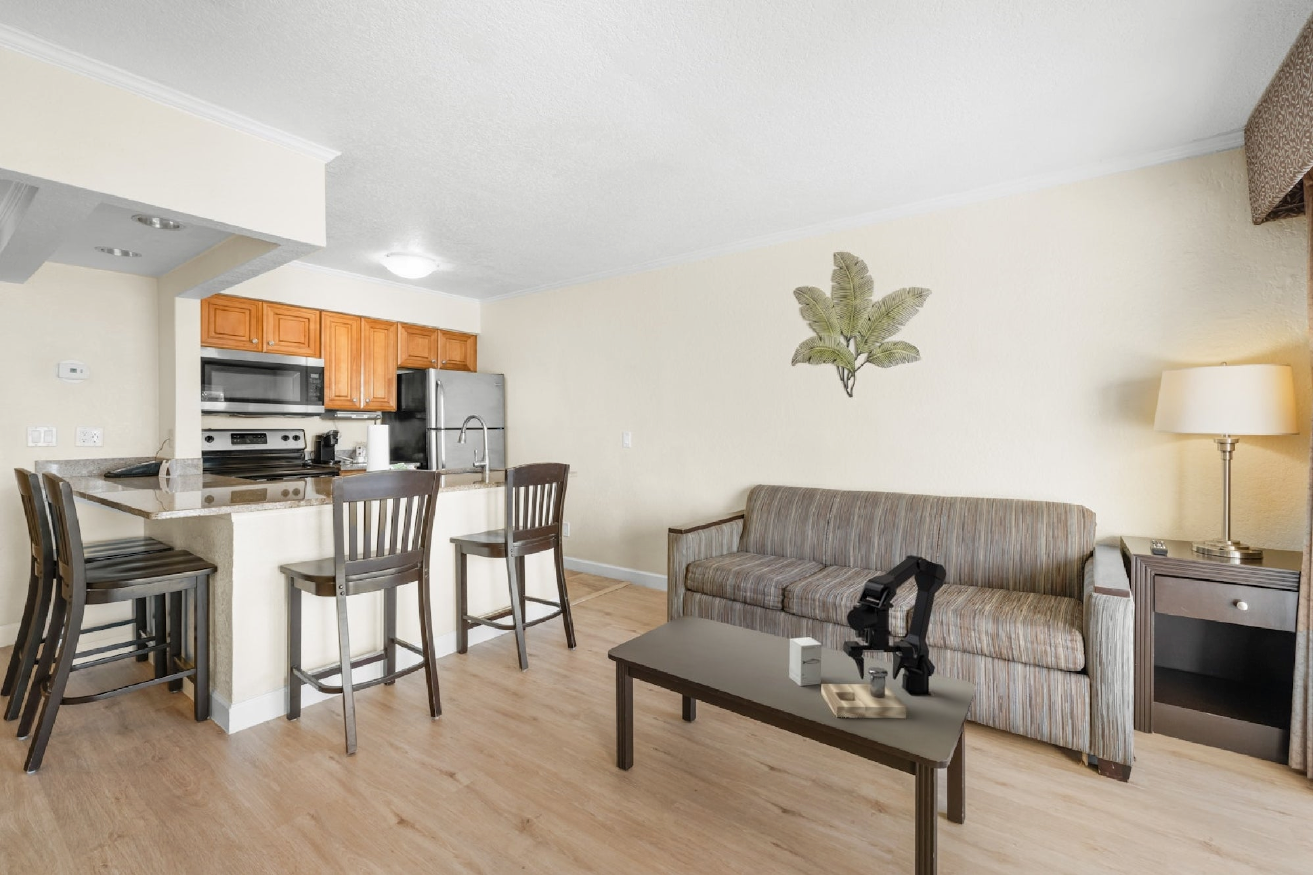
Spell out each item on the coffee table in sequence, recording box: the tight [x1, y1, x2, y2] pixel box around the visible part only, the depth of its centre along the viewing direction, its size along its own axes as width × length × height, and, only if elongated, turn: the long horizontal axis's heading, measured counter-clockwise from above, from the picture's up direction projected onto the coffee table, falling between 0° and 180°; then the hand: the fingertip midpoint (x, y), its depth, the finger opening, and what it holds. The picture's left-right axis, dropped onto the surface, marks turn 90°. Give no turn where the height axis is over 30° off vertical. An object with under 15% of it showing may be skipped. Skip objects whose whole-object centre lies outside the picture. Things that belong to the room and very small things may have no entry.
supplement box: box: [788, 636, 822, 687], centre depth 187 cm, size 7×7×13 cm
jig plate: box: [820, 683, 907, 719], centre depth 170 cm, size 19×15×3 cm
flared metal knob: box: [867, 666, 889, 698], centre depth 170 cm, size 5×5×7 cm
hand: (878, 678), depth 171 cm, fingers open, 9 cm apart
